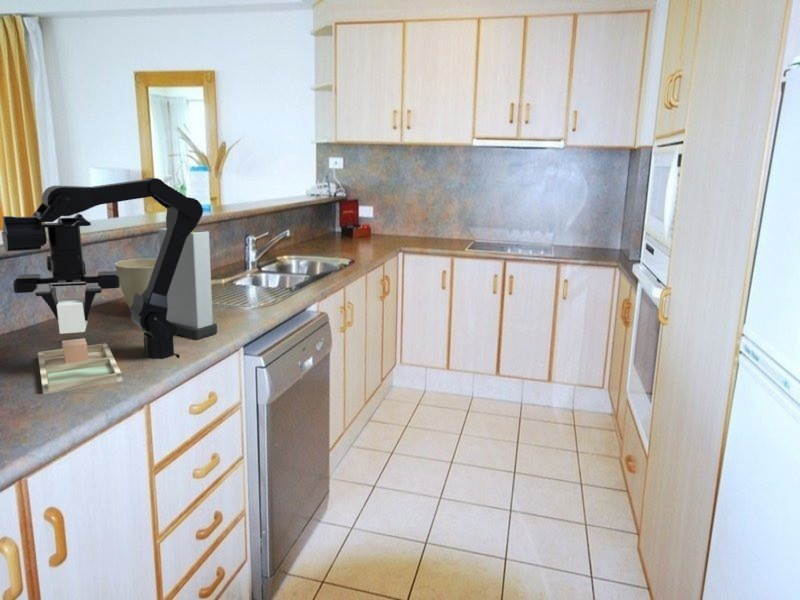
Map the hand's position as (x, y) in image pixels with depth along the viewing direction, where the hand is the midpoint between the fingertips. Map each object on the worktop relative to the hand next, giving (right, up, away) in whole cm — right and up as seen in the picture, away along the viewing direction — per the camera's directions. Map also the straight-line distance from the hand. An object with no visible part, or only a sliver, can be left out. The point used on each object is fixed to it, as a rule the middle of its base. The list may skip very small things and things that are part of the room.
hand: (73, 321), depth 118 cm
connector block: (0, -1, 0) cm, 2 cm away
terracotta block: (-4, -9, +7) cm, 13 cm away
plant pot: (-7, 0, +50) cm, 51 cm away
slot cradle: (-1, -12, +3) cm, 12 cm away
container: (+11, -5, +35) cm, 37 cm away
